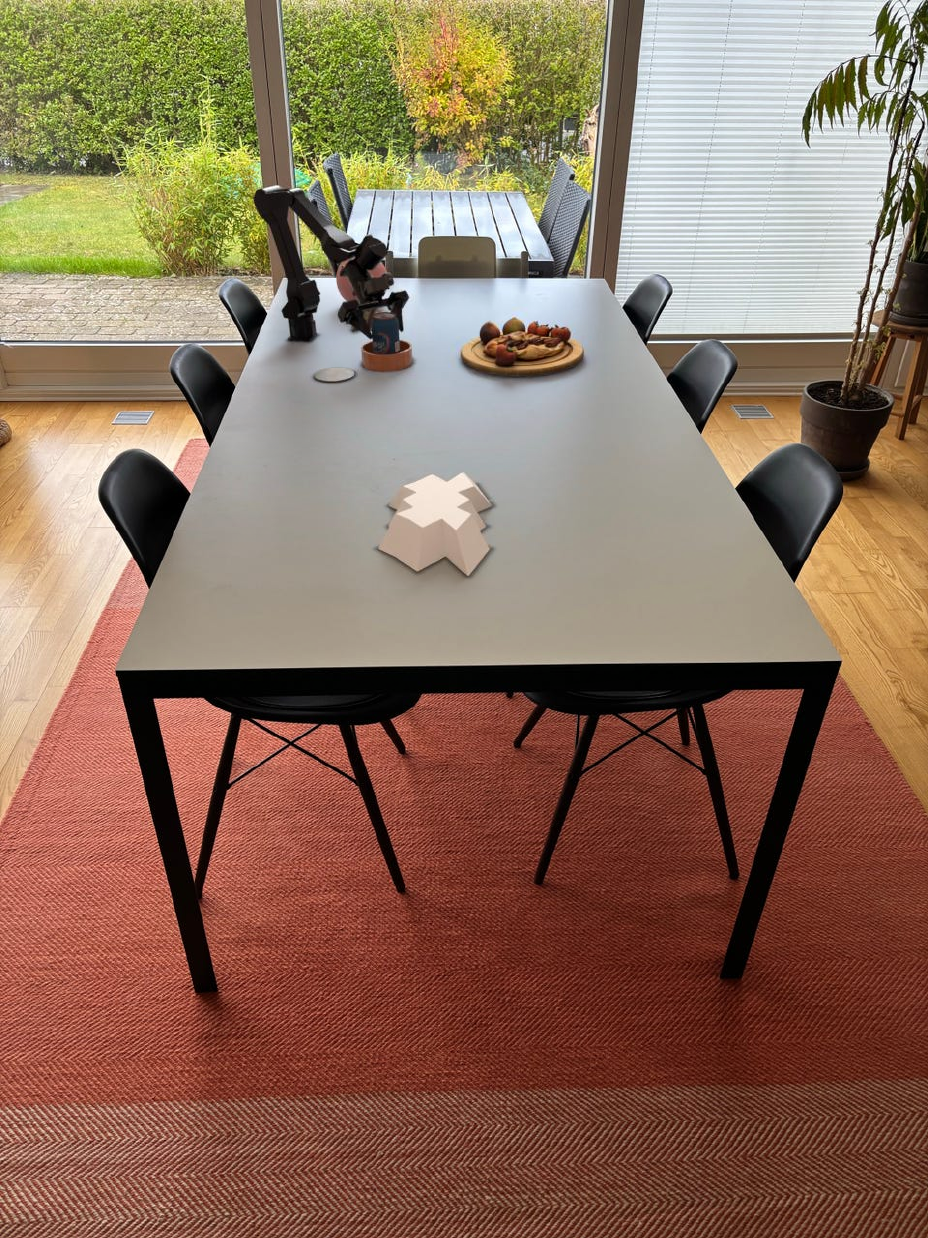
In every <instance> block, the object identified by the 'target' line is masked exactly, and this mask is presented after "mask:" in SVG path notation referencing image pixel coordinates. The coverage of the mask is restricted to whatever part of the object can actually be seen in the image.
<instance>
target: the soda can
mask: <svg viewBox="0 0 928 1238" xmlns="http://www.w3.org/2000/svg"><path fill="white" fill-rule="evenodd" d="M371 327H372V329H371V334H372V336H373V338H372V339H371V341H373V354H380V355H387V354H396V353H400V340H401V339H400V330H399V323H398V320H397V318H396V314H395V313H392V312H391V311H381V312H379V313H376V314H374V315H373V319H372V322H371Z"/></svg>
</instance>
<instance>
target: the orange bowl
mask: <svg viewBox="0 0 928 1238" xmlns="http://www.w3.org/2000/svg"><path fill="white" fill-rule="evenodd" d="M412 348H413V346H412V344H411V342H409V341H407V340H403V339H400V353H396V354H387V355H380V354H373V341H372V340H370V341H368V342H365V343H363V345H361V346H360V352H361V363H362V364H361V365H362V366H363V367H364V368H365V369H367V370H369V371H375V372H393V371H394V372H395V371H399V370H404V369H406V368H408V367H410V366H411V365H412V364H413V349H412Z"/></svg>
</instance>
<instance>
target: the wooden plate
mask: <svg viewBox="0 0 928 1238" xmlns="http://www.w3.org/2000/svg"><path fill="white" fill-rule="evenodd" d="M571 335H572V332H571V330H570V328H568V327H567V326H562V327H559V326H558V324H554V327H553V326H551V327H549V323H548V324H540V325H539V321H538V320H536V321H534V320H533V322H530V323H529V324H528V326H527V329H526V325H525V324H524V322H523V321H522V320H520V319H519V318H517V317H515V316H513V317H511V318H510V319H508V320H507V321H505V323H504V324H503V326H502V328H501V330H500V328H499V327H498V325H496V324H495V322H493V321H491V320H489V321H487V322H485V323H483V325H482V326H481V327H480V329H479V336H478V337H476V338H475V337H474V338H473V339H471V340H469V341H468V342H466V343H465V344H464V345H463V346H462V347H461V350H460V358H461V361H462V362H463V363H464V364H465V365H467V366H468V367H470V368H471V369H474V370H476V371H479V372H482V373H486V374H490V375H498V376H506V377H535V376H545V375H550V374H554V373H559V372H562V371H565V370H568V369H571V368H573V367H575V366H576V365H578V364H579V363H580V362H581V361H582V360H583V358H584V355H585V350H584V347H583V346H582V344H581V343H580V342H579V341H578V340H576V339H574V338H572V337H571Z"/></svg>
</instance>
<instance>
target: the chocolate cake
mask: <svg viewBox="0 0 928 1238" xmlns="http://www.w3.org/2000/svg"><path fill="white" fill-rule="evenodd" d="M359 304H360V302H359ZM379 312H382V310H381V309H380V308H377V309H372V310H368V311H363V317H364V319H365V321H366V323H367V325H368V327H369V329H370V331H372V327H371V322H372V319H373V315H374V314H376V313H379ZM351 327H352V329H351V331H354V330H357V329H356V328H355V327H353V326H351Z"/></svg>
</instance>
